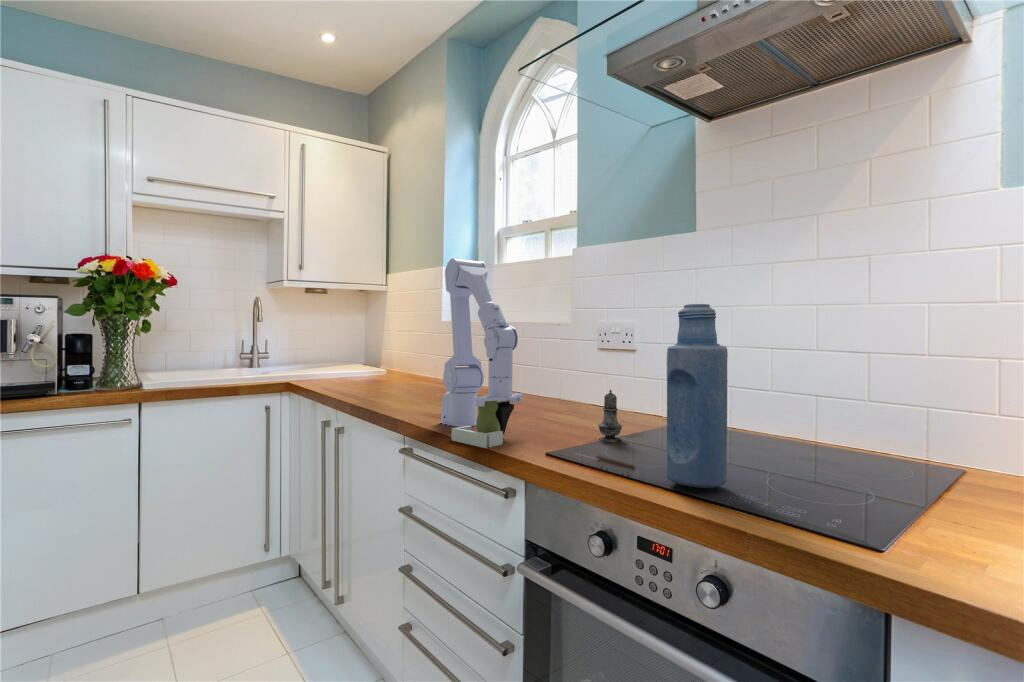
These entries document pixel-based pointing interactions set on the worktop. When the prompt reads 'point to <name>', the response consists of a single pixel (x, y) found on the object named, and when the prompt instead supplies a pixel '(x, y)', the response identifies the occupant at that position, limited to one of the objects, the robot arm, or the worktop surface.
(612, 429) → the salt shaker
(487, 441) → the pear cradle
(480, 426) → the pear
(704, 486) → the bottle
